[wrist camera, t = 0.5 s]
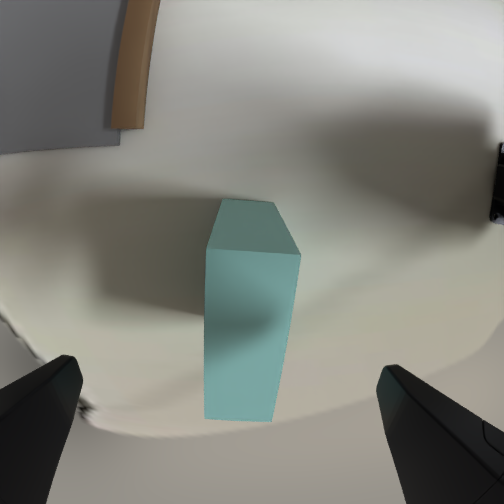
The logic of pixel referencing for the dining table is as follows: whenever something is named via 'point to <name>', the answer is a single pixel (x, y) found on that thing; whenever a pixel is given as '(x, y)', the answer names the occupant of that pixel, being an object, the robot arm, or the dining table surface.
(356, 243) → the dining table surface
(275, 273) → the slab
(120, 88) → the wooden block
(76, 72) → the mat
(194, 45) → the dining table surface
